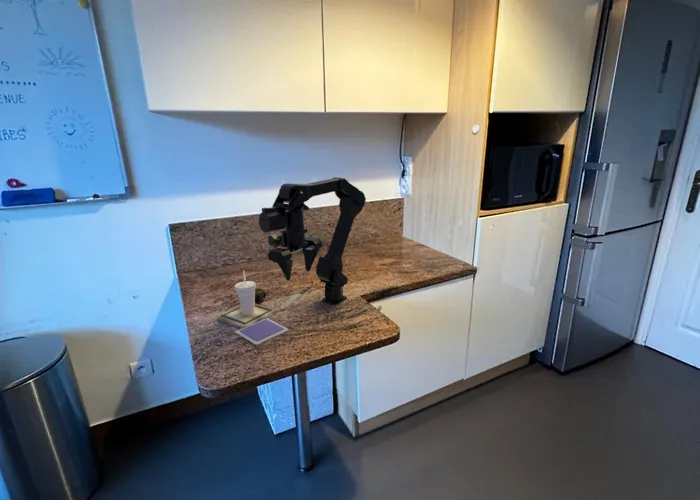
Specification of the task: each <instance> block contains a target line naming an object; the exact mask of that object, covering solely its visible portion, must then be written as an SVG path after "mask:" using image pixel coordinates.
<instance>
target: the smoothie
mask: <svg viewBox="0 0 700 500" xmlns="http://www.w3.org/2000/svg"><path fill="white" fill-rule="evenodd" d="M242 273H243V274H242V275H243V281H240V282H237V283H236V284H235V285H234V290H235V291H236V294H237V297H238V301H239V306H241V310H242V313H243V315H252V314H254V312H255V304H256V303H255V288H257V285H256V282H255V281H252V280H247V279H246V272H245V270H243V271H242Z"/></svg>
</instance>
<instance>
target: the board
mask: <svg viewBox="0 0 700 500" xmlns="http://www.w3.org/2000/svg"><path fill="white" fill-rule="evenodd" d="M275 314H277V309H275V308H271V307H267V306H265V305H261V304H259V303H255V312H254V314H252V315H243V313H242V310H241V306H240V305H239V306H237V307H234V308H233V309H231V310H228V311H226V312H223V313H221V314H219V315H218V316H216V320H217V321H221V322H223V323H225V322H226V323H225V324H228V323H229V324H228V325H231V324H232V325H231V326H233V327H236V326H238V327H237V328H239V327H241V328H240V329H242V328H246V327H248V326H249V325H252V324H254V323H256V322H259V321H261V320H263V319H265V318H267V317H268V318H270V317H271V316H273V315H275ZM269 316H270V317H269Z"/></svg>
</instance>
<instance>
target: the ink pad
mask: <svg viewBox="0 0 700 500" xmlns="http://www.w3.org/2000/svg"><path fill="white" fill-rule="evenodd" d="M288 330H289V331H290V329H289V328H287V327H286V326H284V325H281V324H280V323H277V322H276V321H273V320H272V319H270V318H269V317H268V318H266V319H264V320H261V321H259V322H256V323H254V324H252V325H249V326H248V327H246V328H239V329H238V330H235V331H234V334H236V333H237V334H238V335H237V334H236V335H237V336H239V335H240V336H242V337H244V338H245V339H247V340H249V341H251V342H253V343H254V344H258V343H260V342H263V341H265V340H268V339H270V338H272V337H275V336H277V335H279V334H281V333H284V332H286V331H288ZM289 331H288V332H289ZM286 333H287V332H286ZM284 334H285V333H284ZM240 336H239V337H240ZM279 336H280V335H279ZM242 337H241V338H242ZM277 337H278V336H277ZM244 338H243V339H244ZM275 338H276V337H275ZM245 339H244V340H245ZM247 340H246V341H247Z"/></svg>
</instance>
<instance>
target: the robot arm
mask: <svg viewBox="0 0 700 500" xmlns="http://www.w3.org/2000/svg"><path fill="white" fill-rule="evenodd" d="M330 193H334V194H335V196H336V197H337V198H338V200H339V203H338V206H339V212H340V213H339V217H338V219H337V223H336V226H335V229H334V231H333V235H332V238H331V241H330V244H329V247H328V250H327V253H326V254H325V255H324V256H322V255H321V256H319V257H318V260H317V264H316V266H315V268H316V269H315V274H316V276H317V278H318V279H319V281H320V282H321V283H323V284H324V292H323V293H324V297H323V298H322V299H321V301H322V302H325V303H329V304H333V305H338V304H340V303H341V302H343V301H345V300H347V298H348V296H345V295H344V286H345V285H347V284H348V280H349V278H348V277H347V276H346V275H345V274H344V273H342V272H343V268H344V267H343V266H344V265H343V261H342V260H343V259H342V256H343V253H344V251H345V247H346V245H347V242H348V238H349V235H350V233H351V229H352V226H353V224H354V220H355V218H356V217H357V216H358V215H359V214H360V213H361V212H362V210H363V208H364V207H365V204H366V201H367V198H366V195H365V193H364V191H362V190H360V189H359V188H358V187H356V186H354V185H353V184H352V183H350V182H349V180H347V178H345V177H334V176H333V178H330V179H329V178H328V179H323V180H319V181H314V182H310V183H284V184H282V185H281V186H280V187H279V191H278V194H277V196H276V198H275V199H274V203H273V204H272V206H271V207H262V208H261V212H260V214H259V218H258V226H259V227H260V229H261V231H262V232H263V233H265V234H266V233H267V234H268V233H270V232H274V231H275V232H276V231H280V230H282V231H281V235H279V236H277V235H276V233H275V234H271V235H269V236H267V241H268V244H269V246H270V247H273V249H271V250H269V251H268V252H267V259H268V261H272V263H276V264H277V265H278V266H279V268H280V269H281V271H282V274H283V275H284V278H285V280H286V281H288V282H289V281H290V280H291V278H292V277H291V276H292V268H293V259H292V256H293V255H292V254H295V253H297V252H300V251H301V252H302V253H303V258H304V265H305V270H306V272H310V270H311V268H312V266H313V263H314V262H315V259H316V257H317V255H318V253H319V251H320V250H321V248H323V241H322V239H320V238H319V237H312V236H308V237H306V233H308V228H305V220H304V219H305V218H304V211H308V210H309V209H310V207H309V206H308V205H306V202H308V201H309V200H310V199H312V198H313V197H317V196H321V195H326V194H330Z"/></svg>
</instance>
